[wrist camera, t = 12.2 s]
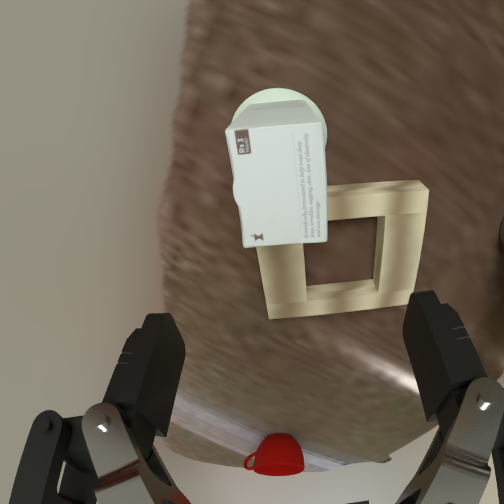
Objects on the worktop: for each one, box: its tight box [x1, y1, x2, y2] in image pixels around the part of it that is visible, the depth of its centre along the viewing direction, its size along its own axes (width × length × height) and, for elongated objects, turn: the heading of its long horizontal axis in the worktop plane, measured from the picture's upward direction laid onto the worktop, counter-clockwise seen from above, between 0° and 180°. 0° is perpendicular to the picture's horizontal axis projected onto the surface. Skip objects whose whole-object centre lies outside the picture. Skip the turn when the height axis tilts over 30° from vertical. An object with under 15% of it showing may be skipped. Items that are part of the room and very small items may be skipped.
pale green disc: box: [231, 88, 327, 146], centre depth 31 cm, size 10×10×1 cm
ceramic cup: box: [243, 433, 304, 476], centre depth 70 cm, size 13×17×10 cm
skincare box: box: [225, 99, 328, 248], centre depth 25 cm, size 8×6×15 cm
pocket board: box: [256, 180, 429, 319], centre depth 38 cm, size 20×17×3 cm
